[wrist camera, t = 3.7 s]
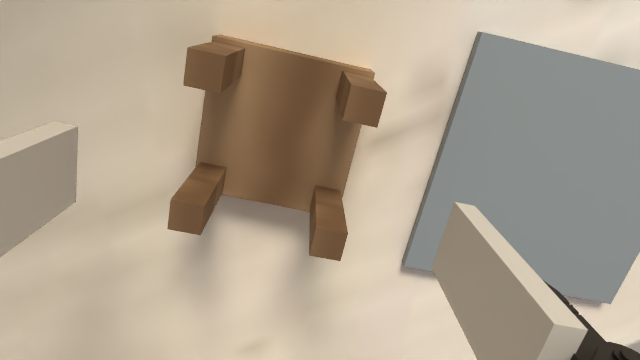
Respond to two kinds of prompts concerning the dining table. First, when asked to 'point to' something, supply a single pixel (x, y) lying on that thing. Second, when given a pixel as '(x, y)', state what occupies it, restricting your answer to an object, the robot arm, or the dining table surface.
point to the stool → (275, 134)
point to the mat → (542, 164)
